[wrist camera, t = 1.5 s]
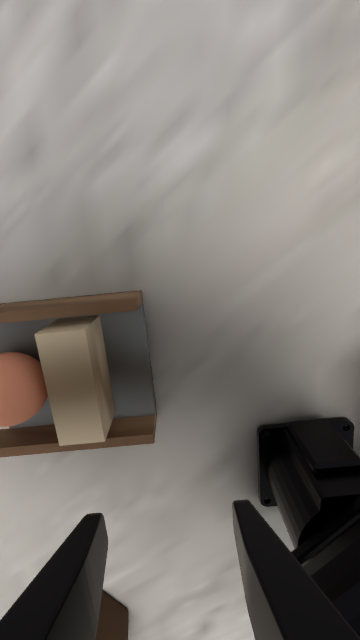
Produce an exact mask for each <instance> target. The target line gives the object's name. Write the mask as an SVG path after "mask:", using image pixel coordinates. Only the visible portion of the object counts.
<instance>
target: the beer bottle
mask: <svg viewBox="0 0 360 640" xmlns="http://www.w3.org/2000/svg"><path fill="white" fill-rule="evenodd" d="M95 640H128V611H127V608H125V607H124V606H123V605H121V604H120V603H119V602H117V601H116V600H115V599H113V598H112V597H111V596H109V595H108V594H107V593H105V592H104V591H102V597H101V604H100V612H99V619H98V625H97V631H96V636H95Z"/></svg>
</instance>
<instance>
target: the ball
mask: <svg viewBox="0 0 360 640" xmlns="http://www.w3.org/2000/svg"><path fill="white" fill-rule="evenodd" d="M47 397H48V393H47V388H46V384H45V379H44V375H43V370H42V366H41V363H40V362H39V361H38V360H36V359H35V358H33V357H31V356H29V355H27V354H23V353H19V352H6V353H1V354H0V427H8V426H14V425H18V424H20V423H23V422H25V421H27V420H29V419H30V418H32V417H33V416H34V415H35V414H36V413H37V412H38V411H39V410H40V409H41V408H42V406H43V405H44V403H45V402H46V399H47Z"/></svg>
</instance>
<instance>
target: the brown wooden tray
mask: <svg viewBox="0 0 360 640" xmlns="http://www.w3.org/2000/svg"><path fill="white" fill-rule="evenodd" d="M99 315H100V321H101V327H102V333H103V339H104V345H105V351H106V357H107V363H108V369H109V375H110V381H111V387H112V394H113V400H114V406H115V415H114V417H113V420H112V423H111V426H110V429H109V432H108V434H107V437H106V440H105V442H97V443H86V444H75V445H64V446H59V442H58V437H57V433H56V428H55V424H54V420H53V415H52V411H51V406H50V402H49V397H47V399H46V402H45V403H44V405H43V406H42V408H41V409H40V410H39V411H38V412H37V413H36V414H35V415H34V416H33V417H32V418H30V419H29V420H27V421H25V422H23V423H20V424H18V425H14V426H8V427H0V457H8V456H19V455H30V454H41V453H52V452H62V451H73V450H84V449H95V448H106V447H117V446H128V445H139V444H150V443H154V439H155V429H156V419H157V411H156V403H155V395H154V387H153V379H152V371H151V363H150V355H149V347H148V339H147V331H146V324H145V316H144V308H143V300H142V292H141V291H130V292H119V293H109V294H98V295H88V296H77V297H67V298H56V299H46V300H35V301H24V302H14V303H3V304H0V354H1V353H6V352H19V353H23V354H27V355H29V356H31V357H33V358H35V359H36V360H38V361H39V362H40V357H39V353H38V348H37V344H36V339H35V335H34V334H36V333H37V332H39V331H40V330H42V329H43V328H45V327H47V326H48V325H50V324H51V323H53V322H54V321H56V320H57V319H67V318H78V317H88V316H99ZM40 363H41V362H40Z"/></svg>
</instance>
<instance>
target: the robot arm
mask: <svg viewBox="0 0 360 640" xmlns="http://www.w3.org/2000/svg"><path fill="white" fill-rule="evenodd" d="M344 425H347V426H346V427H344V428H343V426H344ZM264 432H267V434H265V435H262V434H263V433H264ZM353 435H354V425H353V423H352V422H351V421H350V420H349V419H347V418H338V419H327V420H326V419H320V420H309V421H298V422H290V423H283V424H273V425H263V426H260V427H259V428H258V430H257V451H258V482H259V499H260V502H261V504H262V505H263V506H266V507H269V506H278V508H279V510H280V513H281V515H282V518H283V520H284V523H285V525H286V528H287V530H288V533H289V535H290V538H291V540H292V543H293V546H294V548H295V549H294V550H293V551H292V552H290V551H289V549H288V548H287V547H286V546H285V544H284V543H283V542H282V541H281V539H280V538H279V537H278V536H277V534H276V533H275V532H274V531H273V530H272V528H271V527H270V526H269V525H268V523H267V522H266V521H265V520H264V518H263V517H262V516H261V515H260V513H259V512H258V511H257V510H256V509H255V507H254V506H253V505H252V504H251V502H250V501H249V500H235V501H233V503H232V508H233V525H234V534H235V540H236V546H237V552H238V557H239V563H240V569H241V575H242V581H243V586H244V592H245V598H246V603H247V608H248V613H249V617H250V621H251V625H252V628H253V632H254V636H255V640H360V457H359V456H358V455H357V453H356V452H355V451H354V450H353ZM266 498H268V499H266ZM107 550H108V536H107V531H106V526H105V520H104V516H103V514H102V513H92V514H87V515H86V516H84V518H83V519H82V520H81V521H80V522H79V524H78V525H77V526H76V527H75V529H74V530H73V531H72V532H71V534H70V535H69V536H68V537H67V539H66V540H65V541H64V542H63V544H62V545H61V546H60V547H59V548H58V550H57V551H56V552H55V553H54V555H53V556H52V557H51V558H50V560H49V561H48V562H47V563H46V565H45V566H44V567H43V568H42V569H41V571H40V572H39V573H38V574H37V576H36V577H35V578H34V579H33V581H32V582H31V583H30V584H29V586H28V587H27V588H26V589H25V590H24V592H23V593H22V594H21V595H20V597H19V598H18V599H17V600H16V602H15V603H14V604H13V605H12V607H11V608H10V609H9V610H8V611H7V613H6V614H5V615H4V616H3V618H2V619H1V620H0V640H95V636H96V631H97V625H98V619H99V612H100V604H101V597H102V589H103V581H104V573H105V565H106V558H107Z"/></svg>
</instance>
